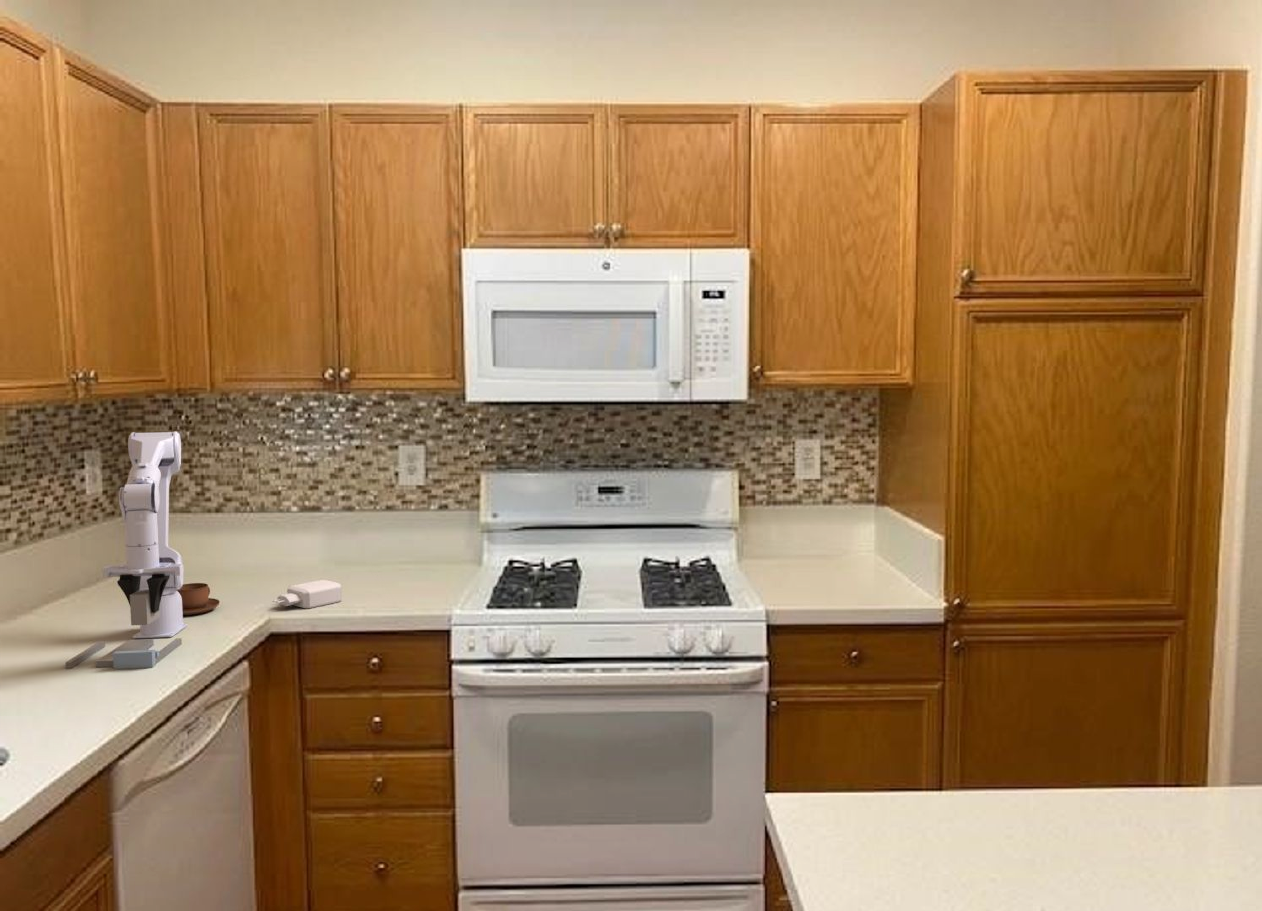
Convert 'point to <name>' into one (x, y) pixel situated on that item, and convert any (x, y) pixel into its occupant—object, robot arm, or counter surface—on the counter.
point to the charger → (312, 594)
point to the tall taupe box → (142, 608)
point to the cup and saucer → (196, 598)
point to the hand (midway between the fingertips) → (145, 611)
